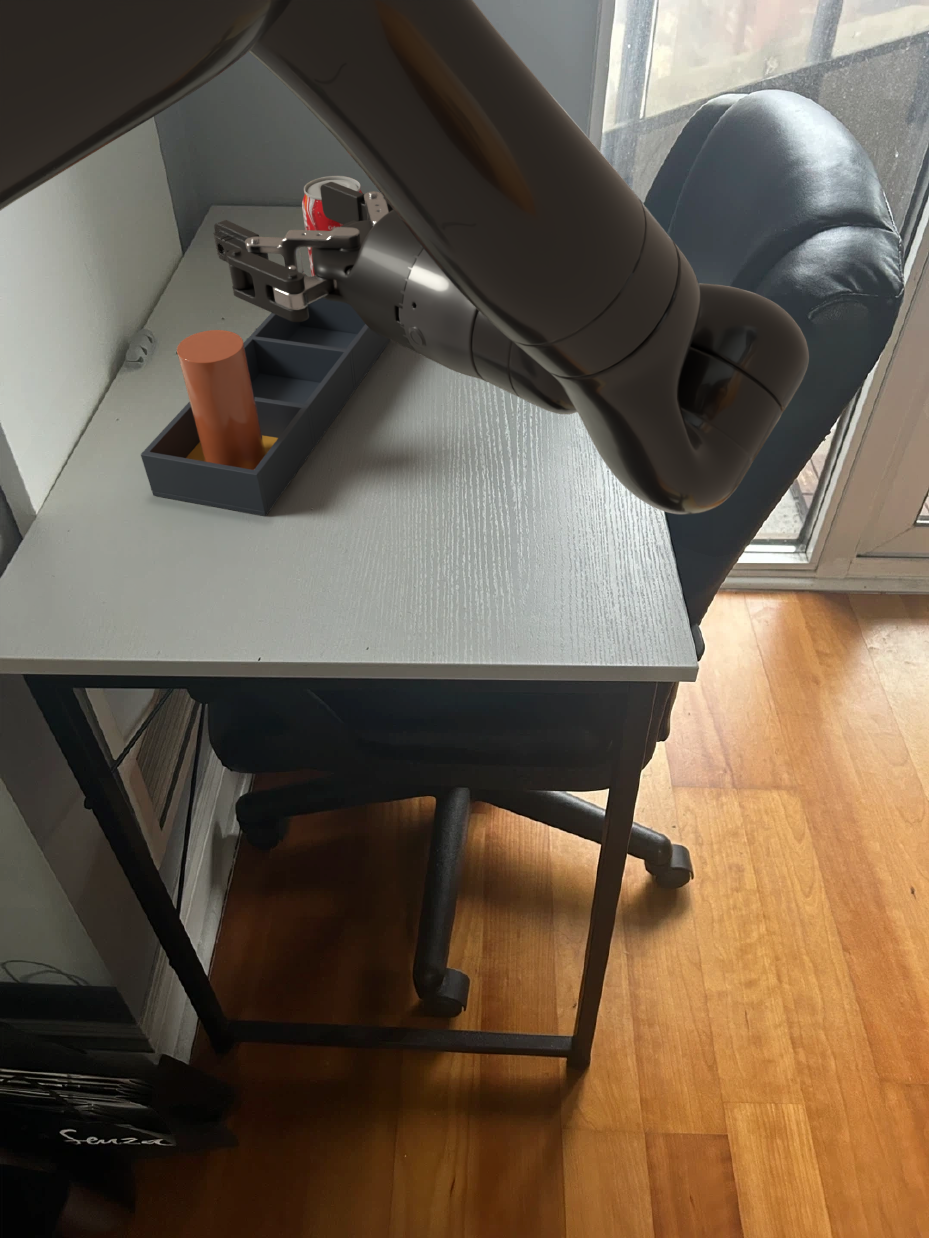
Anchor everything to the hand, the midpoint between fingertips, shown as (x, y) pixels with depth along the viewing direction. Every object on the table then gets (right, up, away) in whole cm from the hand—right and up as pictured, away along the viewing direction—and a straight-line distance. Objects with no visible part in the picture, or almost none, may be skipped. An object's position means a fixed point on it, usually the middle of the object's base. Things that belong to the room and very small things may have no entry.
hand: (274, 217), depth 61 cm
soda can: (-2, +12, +51) cm, 52 cm away
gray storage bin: (-6, -5, +34) cm, 35 cm away
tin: (-9, -12, +26) cm, 30 cm away
